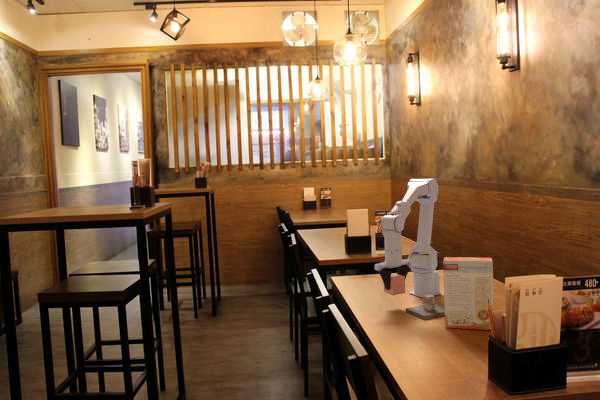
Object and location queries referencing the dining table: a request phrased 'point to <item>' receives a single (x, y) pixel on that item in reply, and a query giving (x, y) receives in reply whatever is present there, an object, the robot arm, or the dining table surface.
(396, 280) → the peach wooden cube
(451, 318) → the cracker box
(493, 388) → the dining table surface
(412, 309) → the post board
